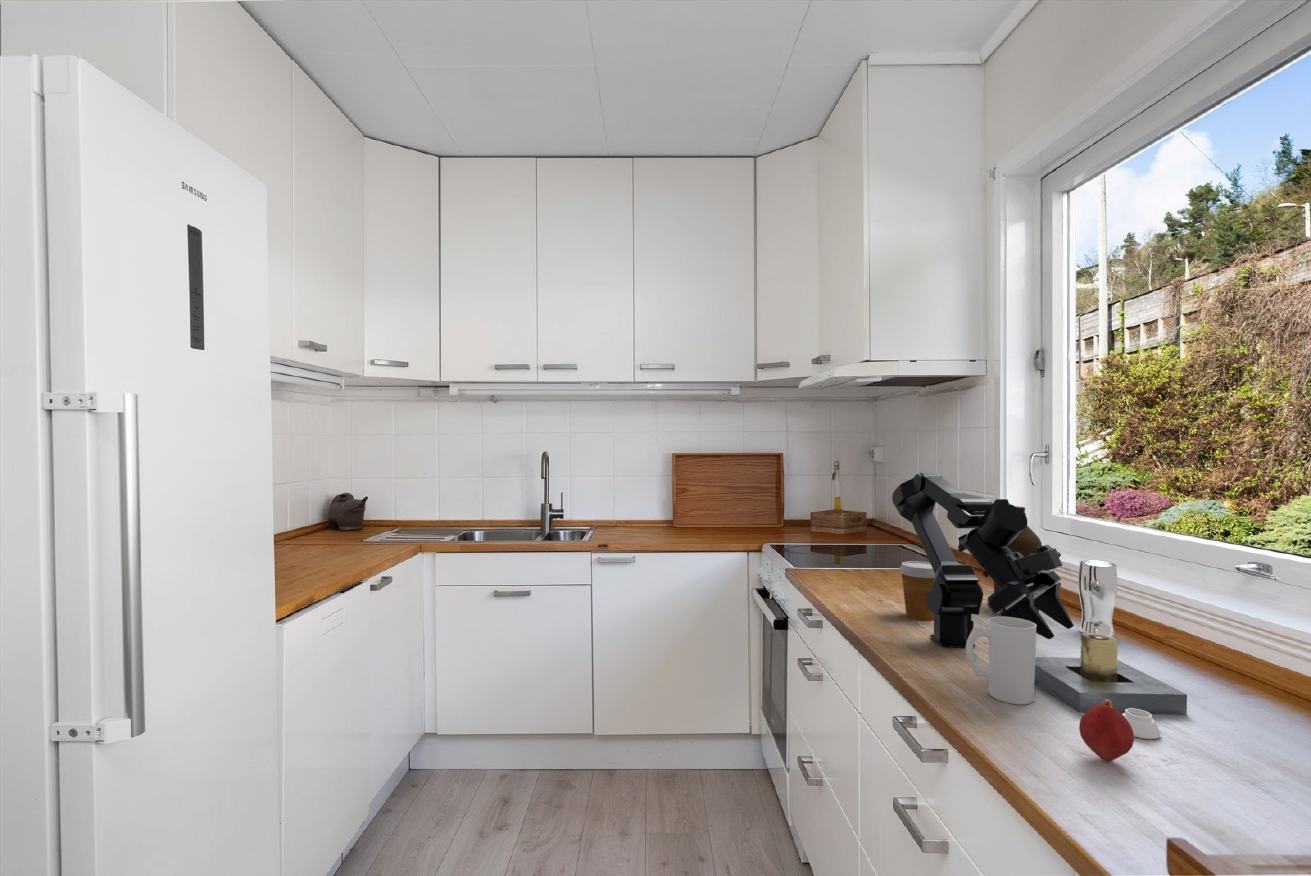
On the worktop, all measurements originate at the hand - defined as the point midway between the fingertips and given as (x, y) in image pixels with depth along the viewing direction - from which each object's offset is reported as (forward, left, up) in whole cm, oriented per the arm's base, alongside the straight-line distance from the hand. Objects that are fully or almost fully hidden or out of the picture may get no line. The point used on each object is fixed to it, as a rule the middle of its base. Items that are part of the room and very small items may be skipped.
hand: (1061, 632), depth 112 cm
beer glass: (+24, +29, -9) cm, 39 cm away
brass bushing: (+3, -4, -8) cm, 10 cm away
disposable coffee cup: (-9, +40, -9) cm, 41 cm away
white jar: (0, -19, -9) cm, 21 cm away
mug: (-14, -6, -9) cm, 17 cm away
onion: (-11, -27, -9) cm, 30 cm away
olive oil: (+16, +46, -9) cm, 49 cm away
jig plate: (+3, -4, -8) cm, 10 cm away
